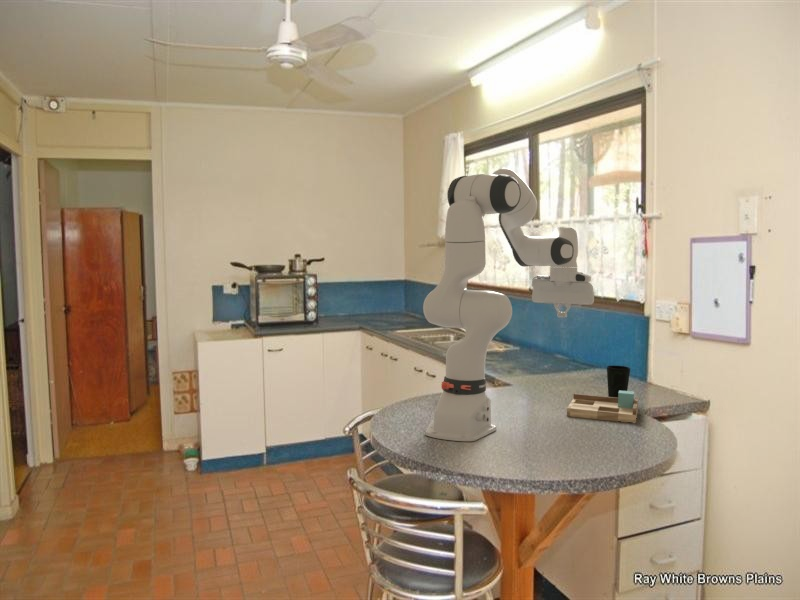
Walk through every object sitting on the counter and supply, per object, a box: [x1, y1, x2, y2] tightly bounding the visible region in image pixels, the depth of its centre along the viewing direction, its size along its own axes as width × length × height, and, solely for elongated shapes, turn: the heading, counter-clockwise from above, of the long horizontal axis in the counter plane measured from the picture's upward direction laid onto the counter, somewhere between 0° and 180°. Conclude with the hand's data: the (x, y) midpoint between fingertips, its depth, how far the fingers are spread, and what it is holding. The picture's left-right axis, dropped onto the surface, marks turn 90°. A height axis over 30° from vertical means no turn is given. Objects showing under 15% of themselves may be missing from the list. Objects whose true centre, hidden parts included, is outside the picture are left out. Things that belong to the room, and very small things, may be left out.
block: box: [618, 390, 635, 409], centre depth 197 cm, size 4×4×4 cm
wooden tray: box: [566, 393, 639, 424], centre depth 197 cm, size 16×20×4 cm
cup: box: [606, 364, 631, 398], centre depth 215 cm, size 8×8×12 cm
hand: (561, 317), depth 210 cm, fingers closed
